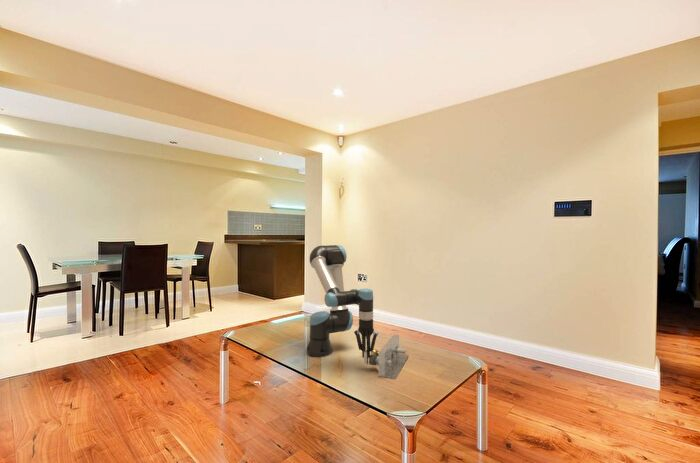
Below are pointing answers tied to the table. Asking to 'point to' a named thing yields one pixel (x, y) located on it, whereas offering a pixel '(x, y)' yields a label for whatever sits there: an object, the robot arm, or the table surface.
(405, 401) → the table surface
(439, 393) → the table surface
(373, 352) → the silver and brass cylinder
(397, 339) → the panel
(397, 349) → the knob far
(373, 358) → the knob near
